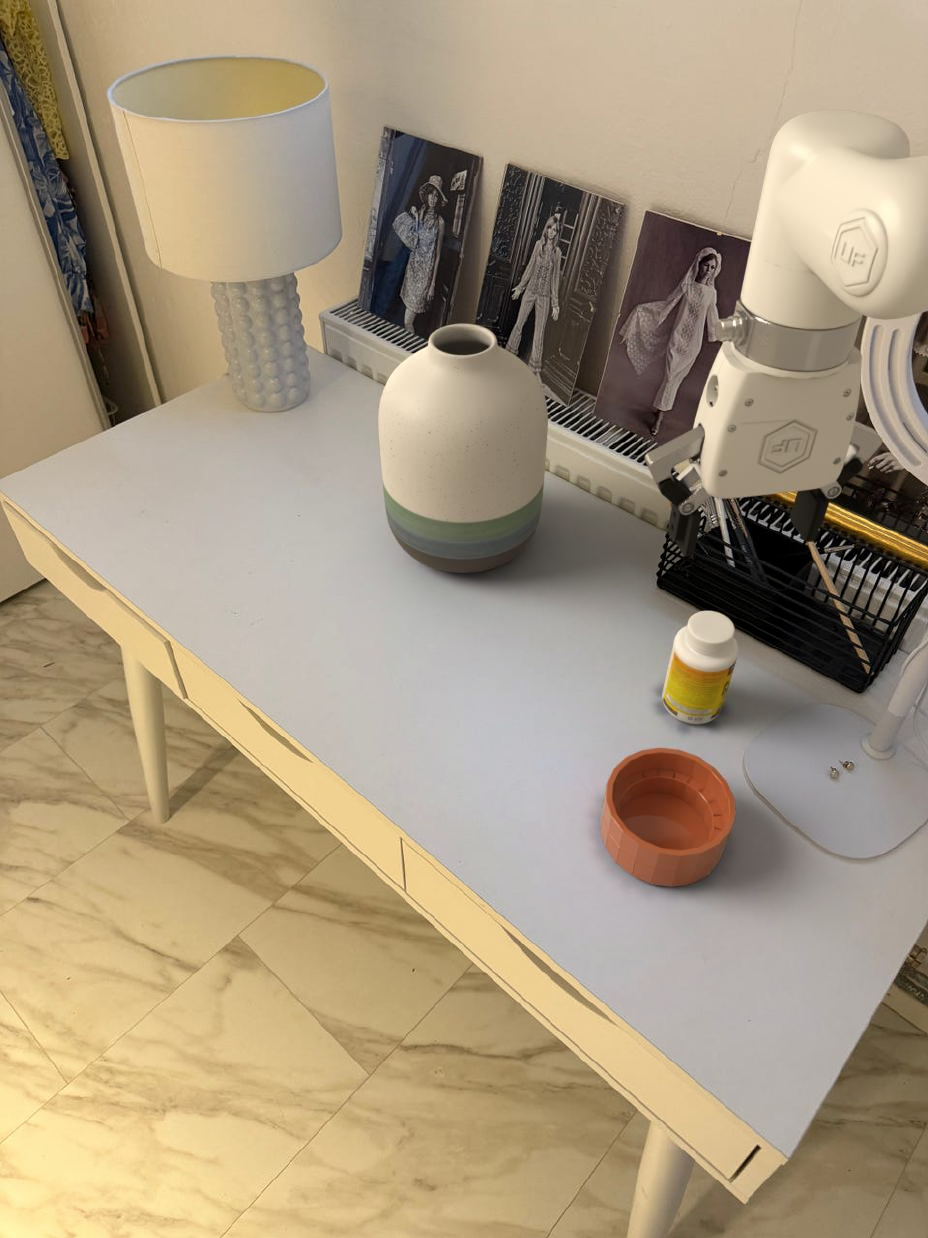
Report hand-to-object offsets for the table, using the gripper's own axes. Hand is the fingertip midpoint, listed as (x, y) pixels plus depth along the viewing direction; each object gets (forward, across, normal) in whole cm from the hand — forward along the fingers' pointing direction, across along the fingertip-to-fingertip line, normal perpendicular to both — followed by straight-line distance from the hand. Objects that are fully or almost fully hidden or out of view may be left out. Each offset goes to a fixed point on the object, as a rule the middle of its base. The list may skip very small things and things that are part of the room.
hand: (742, 537), depth 72 cm
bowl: (+21, -8, -12) cm, 25 cm away
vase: (+20, -17, +28) cm, 39 cm away
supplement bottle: (+21, 0, +1) cm, 21 cm away
